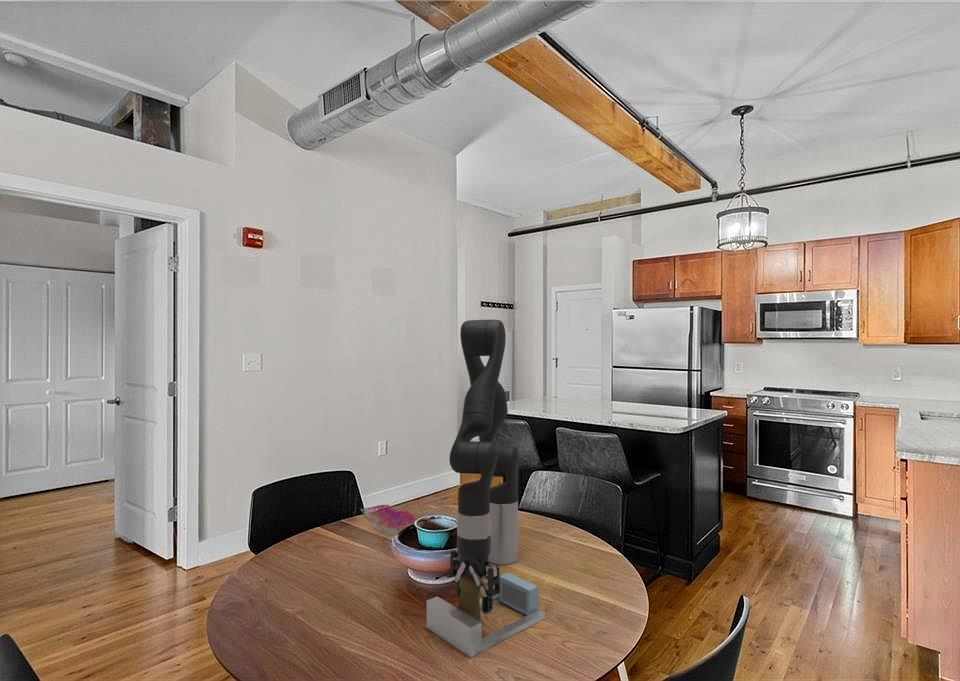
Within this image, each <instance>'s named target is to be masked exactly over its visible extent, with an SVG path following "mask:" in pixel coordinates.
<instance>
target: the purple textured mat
mask: <svg viewBox="0 0 960 681" xmlns="http://www.w3.org/2000/svg"><path fill="white" fill-rule="evenodd" d="M359 510H360V511H361V512H362V514H364V515H365V516H366V518H368V519H369V520H371V521H375V522H372V523H370V524H371V525H372V526H373V527H374V529H376V530H377V531H379V532H380V534H381V533H384V532H385V534H387V533H388V536H389V537H391V536H390V535H393V534H394V533H396V532H398V530H399V529H402V527H404V526H405V525H408V524H411V523H413V521H415V520H416V519H417V517H416V516H414V515H413V514H412V513H410V512H409V511H407V510H406V511H396V510H395V509H394V508H393V507H392V506H391V505H390V504H381V505H380V504H379V505H375V506H372V507H365V508H360V509H359Z"/></svg>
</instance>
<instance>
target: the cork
mask: <svg viewBox="0 0 960 681" xmlns="http://www.w3.org/2000/svg"><path fill="white" fill-rule="evenodd" d="M480 580H481V581H483V580H482V579H480ZM459 588H460V590H461V592H460V597H459V598H458V603H457V607H456V608H458V609H460V610H461V611H463V612H465V613H466V614H468V615H470V616H472V617H473V618H475V619H477V620H478V621H480V622H482V620H481V609H480V600H479V599H480V591H481V589H480V587H478V586H477V584H476V582H475V581H474V580H473V579H472V578H469V577H467V576H466V574H464V575H463V576H461V578H460V580H459Z"/></svg>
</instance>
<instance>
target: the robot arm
mask: <svg viewBox="0 0 960 681" xmlns="http://www.w3.org/2000/svg"><path fill="white" fill-rule="evenodd" d="M460 326H461V327H460V344H461V348H462V354H463V358H464V360H465V364H466V368H467V369H466V370H467V373H468V378H469V385H470V387H469V388H468V390H467V392H466V394H465V396H464V400H463V401H464V402H463V409H462V416H461V417H462V419H461V424H460V427H459V430H458V433H457V435H456V437H455V440H454V442H453V445H452V447H451V449H450V453H449V457H448V458H449V466H450V468H451V469H452V471H453V472H455V473H456V474H457V473H458V474H471V475H473V474H474V475H480V477H479V479H478V480H476V481H472V482H466V483H464V484H463V483H462V484H461V485H460V486H459V488H458V491H457V519H456V548H455V549H452V550H450V554H449V555H450V558H449V559H450V562H449V575H450V577H453V578H454V581H455V583H456V591H455V592H456V598H457V599H459V597H460V592H461V590H460V588H459V580H460V578H461V576H463V575H464V574H466V576H467V577H469V578H472V579H473V580H474V581H475V582H476V584H477V586H478V587H480V589H481V590H480V591H481V594H482V597H481V598H482V609H481V611H482V613H483V614H485V615H487V614H489V613H490V612H492V610H493V607H494V606H493V605H494V603H493V596H495V595H497V594H500V576H501V574H500V567H499V566H501V565H511V564H514V563H515V562H517V561H518V560H519V495H518V494H519V467H520V465H519V464H520V454H519V449H518V447H517V446H516V445H512V444H494V443H493V442H492V441H493V439H494V437H495V435H496V433H498V431H499V429H500V428H501V427H502V425H503V424H504V422H505V421H506V418H507V416H508V410H509V409H508V402H507V401H508V400H507V395H506V390H505V389H504V387H503V386H502V384H501V383H500V381H499V378H500V373H501V368H502V363H503V359H504V355H505V349H506V337H507V336H506V329H505V325H504V323H503V321H502V320H500V319H473V320H471V319H470V320H465V321H464V322H462V324H461V325H460ZM481 357H488V360H487V362H486V364H485V365H484V363H483V361H482V358H481ZM477 437H478V440H479V441H472V440H473V439H474V438H477ZM493 477H495V478H496V477H497V478H500V477H501V478H506V479H505V480H506V481H504V482H502V483H501V484H498V485H495V486H491V485H492V482H493ZM489 562H490V563H492V564H495V565H491V564H490V563H489ZM484 578H485V579H484ZM480 579H481V580H482V579H484V580H482V581H481V580H480ZM485 585H486V586H487V588H486V586H485Z"/></svg>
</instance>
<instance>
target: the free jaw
mask: <svg viewBox="0 0 960 681" xmlns="http://www.w3.org/2000/svg"><path fill="white" fill-rule="evenodd" d="M498 602H500V603H503V604H505V605H506V606H508V607H510V608H512V609H514V610H515V611H518V612H519V613H521V614H524V615H526V616H527V615H529V614H531V613H533V612H535V611H537V610H539V586H538V585H536V584H534V583H532V582H529V581H527V580H524V579H522V578H521V577H518V576H516V575H514V574H512V573H510V572H507V573H503V574H502V575H501V574H500V594H499V601H498Z"/></svg>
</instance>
